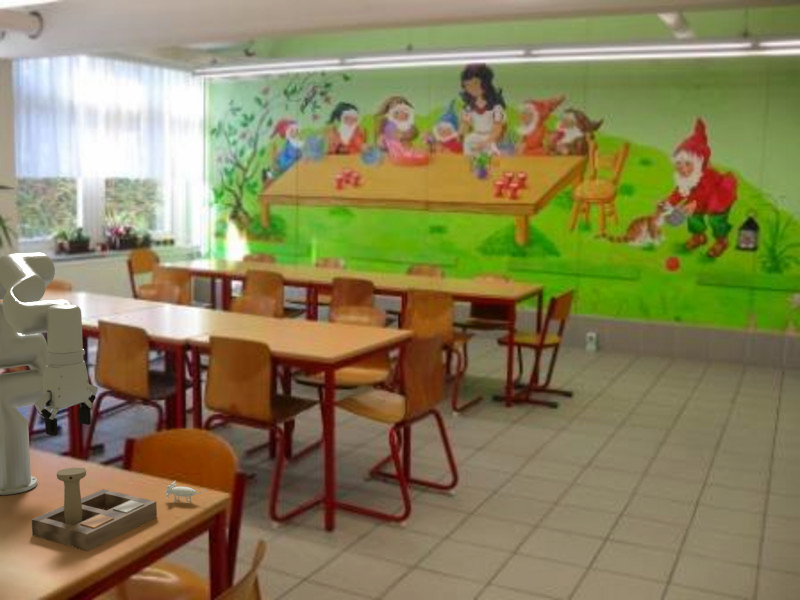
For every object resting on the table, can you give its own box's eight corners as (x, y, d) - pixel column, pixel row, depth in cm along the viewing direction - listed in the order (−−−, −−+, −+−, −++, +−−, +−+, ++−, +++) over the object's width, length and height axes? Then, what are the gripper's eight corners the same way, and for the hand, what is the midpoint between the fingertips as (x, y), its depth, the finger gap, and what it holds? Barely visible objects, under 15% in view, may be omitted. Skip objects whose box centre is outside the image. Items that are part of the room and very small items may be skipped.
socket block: (32, 535, 193) (31, 518, 193) (103, 503, 213) (103, 487, 212) (87, 551, 185) (86, 533, 185) (156, 516, 205) (156, 500, 204)
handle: (87, 534, 194) (85, 473, 192) (58, 537, 192) (55, 476, 190) (88, 526, 199) (86, 466, 197) (60, 529, 197) (57, 469, 195)
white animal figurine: (160, 503, 213) (160, 486, 213) (170, 496, 219) (170, 479, 218) (203, 508, 211) (202, 490, 210) (212, 500, 216) (211, 483, 215)
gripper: (83, 349, 199) (86, 417, 202) (22, 363, 184) (26, 436, 186) (106, 353, 196) (108, 422, 198) (46, 367, 180) (49, 441, 183)
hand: (68, 429), depth 192 cm, fingers open, 9 cm apart
